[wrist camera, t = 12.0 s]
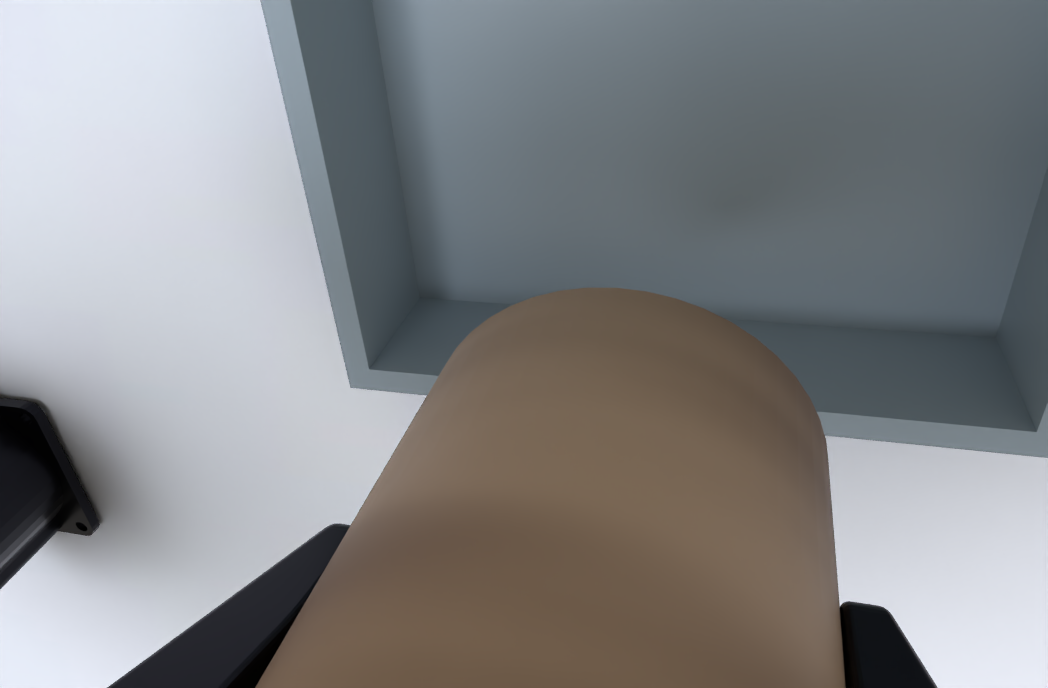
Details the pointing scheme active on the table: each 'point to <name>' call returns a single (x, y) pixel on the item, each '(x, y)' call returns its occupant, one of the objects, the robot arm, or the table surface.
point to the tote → (695, 186)
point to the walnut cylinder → (589, 517)
